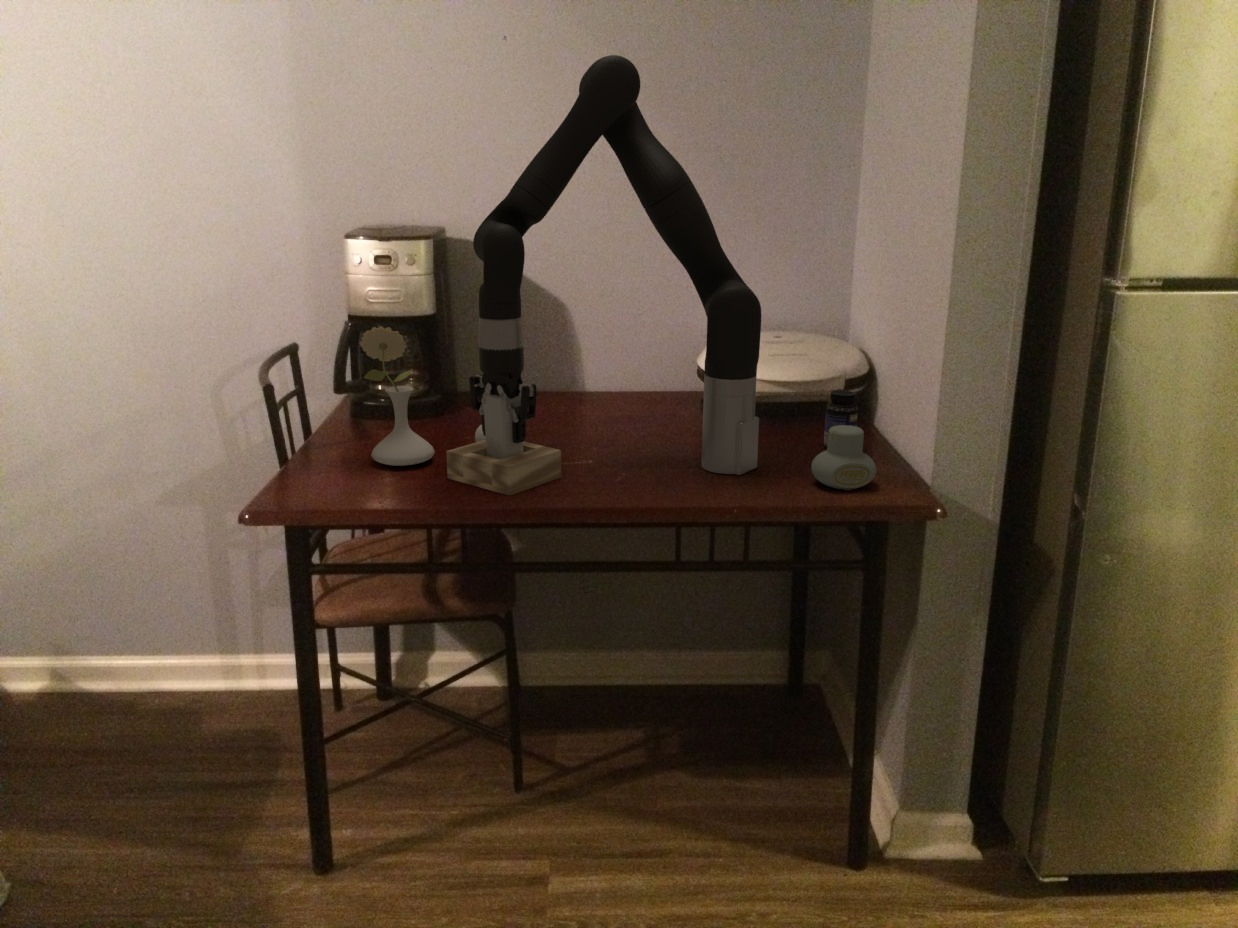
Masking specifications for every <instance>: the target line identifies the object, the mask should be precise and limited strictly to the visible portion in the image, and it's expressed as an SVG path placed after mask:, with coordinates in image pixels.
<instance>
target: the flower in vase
mask: <svg viewBox="0 0 1238 928" xmlns="http://www.w3.org/2000/svg"><path fill="white" fill-rule="evenodd" d="M362 335H363V336H362V337H361V341H359V345H360V347H361V348H362V351H363V352H365V355H366V356H368V357H369V358H371V359H373V360H375V359H378V361H380V362H382V370H383V371H380V370H378V369H371V370H369V371H368V372H367V373H366V374H365V375H364V377H363V379H365V380H371V381H375V382H381V381H383V380H384V378H385V376H386V378H387V379H388V380H389V382H390V383H391V384H392V386H389V387H387V388H385V392H386V393H387V394H388V396H389V398H390V399H391V403H392V405H393V411H394V412H393V413H394V426H393V429H392V431H391V432H390V433H389V434H387V436H386V437H384V438H383V439H382V440H381V441H380V442H378V443H377V444H376V446H374V448H373V449H372V453H371V457H372V459H373V460H374V461H375V462H377V463H380V464H383V465H385V466H387V465H388V466H391V467H392V466H395V467H397V466H398V467H399V466H401V467H402V466H403V467H404V466H412V465H418V464H422V463H424V462H426V461H429V460H430V459H432V458H433V456H434V455H435V453H436V452H435V449H434V447H433V446H432V445H431V444H430V443H429V442H428V440H426V439H424V438H423V437H421V436H420V435H419V434H417V433H416V432H415V431H413V430H412V429H411V427H410V424H409V420H408V404H409V399H410V396H411V394H412V392H413V391H414V387H413V386H409V385H396V384H395V383H397V382H401V381H404V380H405V379H407V378H408V377H409V376H410V375H411V374H412V372H413V368H412V369H410V370H408V371H405V372H403V373H400V374H399V375H397V377H395V379H394V380H392V379H391V377H390V376H389V375H388V373H387V371H386V368H385V362H391V360H393V361H395V360H397V358H402V357H403V356H404V353H405V352H406V350H405V349H406V348H408V347H407V342H406V341H405V339H403V338H404V336H403V335H402V334H400V331H398V330H397V331H394V330H392V328H391V327H389V326H388V327H386V328H384V326H378V327H374V326H373V327H372V328H371V329H370V330H366V331H365V332H363V334H362Z"/></svg>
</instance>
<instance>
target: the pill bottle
mask: <svg viewBox="0 0 1238 928" xmlns="http://www.w3.org/2000/svg"><path fill="white" fill-rule="evenodd" d="M856 394H857V393H856V392H854V391H851V390H847V389H846V390H844V389H842V390H841V389H839V390H832V391H830V401H831V402H830V403H828V404H827V405H826V407H825V417H824V418H825V419H824V430H823V431H824V433H823V447H824V448H826V449H827V447H828V434H829V429H830V428H831V427H833V426H838V425H849V426H855V427H858V418H859V416H858V415H859V414H858V413H859V408H858V406H857V405H856V404H855V403H854V402H855V400H856V397H857V396H856Z"/></svg>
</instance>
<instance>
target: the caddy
mask: <svg viewBox="0 0 1238 928" xmlns="http://www.w3.org/2000/svg"><path fill="white" fill-rule="evenodd" d="M446 467H447V468H446V472H447V473H446V474H447V479H448V480H452V481H456V482H459V483H463V484H467V485H469V486H474V487H478V488H481V489H485V490H489V491H491V492H494V493H499V494H502V495H506V496H514V495H516V494H518V493H521V492H524V491H527V490H530V489H532V488H535V487H539V486H540V485H543V484H546V483H550V482H551V481H552V482H553V481H554V480H557V479H561V478H562V450H561V449H557V448H553V447H550V446H545V445H540V444H536V443H532V442H528V441H525V440H524V441H523V453H520V454H517V455H514V456H511V457H508V458H505V459H501V460H498V459H494V458H490V457H487V449H486V440H483V441H479V442H476V441H475V442H472V443H470V444H465V445H463V446H459V447H455V448H453V449H448V450H446Z"/></svg>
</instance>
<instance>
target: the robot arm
mask: <svg viewBox="0 0 1238 928" xmlns="http://www.w3.org/2000/svg"><path fill="white" fill-rule="evenodd" d="M640 91H641V78H640V74H639V71H638V69H637V67H636V66H635V64H634V63H633V62H632V61H631V60H629V59H628V58H626V57H625V56H621V55H616V54H612V55H611V54H609V55H607V56H603V57H600V58H598V59H597V60H595V61H594V62H593V63H592V64H591V65H590V66H589V68H587V70H586V71H585V72H584V74H583V75H582V77H581V80H580V81H579V86H578V95H577V98H576V100H575V102H574V103H573V105H572V107H571V108H570V111H569V112H568V114H567V115H566V116H565V117H564V119H563V120H562V122H561V123H560V125H559V126H558V127H557V129H556V130H555V132H554V133H553V134H552V135H551V136H550V138H549V139H548V140H547V141H546V142H545V144H544V145H543V146H542V147H541V149H540V150H539V151H538V153H536V155H535V156H534V157H533V158H532V159H531V161H530V162H529V163H528V165H527V166H526V167H525V169H524V170H523V172H522V173H521V175H519V177H518V179H517V180H516V181H515V182H514V185H512V187H511V188H510V190H509V192H508V193H507V195H506V196H505V197H504V198H503V200H501V201H500V202H499V203H498V204H497V205H496V206H495V207H494V208H493V210H491V212H490V213H489V214H488V215H487V216H486V218H484V220H483V221H482V222H481V223H480V225H479V227H478V228H477V229H476V231H475V234H474V237H473V239H472V241H473V242H472V246H473V250H474V251H473V252H474V253H475V254H476V256H477V258H478V259H479V260H481V261H482V262H483V277H482V279H483V280H482V283H481V285H480V286H479V290H478V314H479V315H478V316H479V319H478V330H477V331H478V332H477V335H478V358H479V359H478V360H479V361H478V362H479V364H478V366H479V370H480V372H481V373H480V374H476V375H472V376H470V377H469V378H468V381H469V391H470V401H471V402H470V403H471V408H472V410H473V411H477V412H479V415H480V416H481V424H482V431H483V435H484V436H486V435H485V419H484V405H486V396H488V395H498V396H501V397H503V398H506V403H507V404H506V409H507V410H508V411H509V412H510V414H511V416H512V419H513V421H514V422H512V423H513V442H514V443H521V442H523V441H524V442H525V440H526V437H527V431H526V430H527V424H526V423H527V420H530V419H534V418H535V417H536V408H537V385H536V384H535V383H531V384H528V383H524V382H523V379H522V373H523V371H524V369H525V364H524V363H525V362H524V361H525V359H524V358H525V355H524V351H525V350H524V328H523V321H522V299H521V298H522V296H521V288H522V287H521V286H522V283H523V277H524V275H523V274H524V269H525V268H524V267H525V256H526V255H525V251H526V250H525V244H524V242H525V241H524V240H523V237H524V236H525V234H526V233H528V232H529V230H530V229H531V227H532V226H535V225H537V224H539V223H540V222H541V221H543V219H544V218H545V217H546V215H547V214H548V213H549V212H550V210H551V209H552V207H553V206H554V205H555V204H556V202H557V200H558V199H559V198H560V196H561V195H562V193H563V192H564V190H565V189H566V188H567V186H568V184H569V183H570V181H571V179H572V178H573V177H574V176H575V173H576V172H577V170H578V169H579V167H580V166H581V165H582V163H583V161H584V160H585V158H586V157H587V155H588V154H589V153H590V151H591V150H592V148H593V147H594V146H595V145H596V144H597V142H598V141H599V140H600V138H601V137H602V136H603V137H604V139H605V140H606V142H607V144H608V145H609V147H610V148H611V149H612V151H613V153H614V155H615V156H616V157H617V159H618V161H619V163H620V166H621V167H622V170H623V171H624V174H625V176H626V178H627V180H628V181H629V183H630V185H631V187H632V189H633V191H634V192H635V194H636V196H637V198H638V200H639V202H640V204H641V206H642V208H643V209H644V211H645V213H646V215H647V217H648V219H649V220H650V221H651V223H652V225H653V226H654V229H655V230H656V231H657V232H656V233H658V235H659V236H660V238H661V239H662V240H663V242H664V244H666V246H667V248H668V249H669V250H670V251H671V252H672V254H673V255H674V256H675V258H676V259H677V260H678V261H679V263H680V264H681V265H682V266H683V268H684V270H685V271H686V273H687V274H688V276H689V278H690V280H691V282H692V284H693V286H694V288H695V291H696V292H697V295H698V297H699V299H700V301H701V304H702V306H703V309H704V312H705V315H706V318H707V319H706V323H707V324H706V344H705V345H706V349H705V357H704V375H703V376H704V378H703V379H704V381H703V406H702V407H703V410H702V411H703V412H702V439H701V440H702V441H701V442H702V443H701V468H702V469H703V470H705V471H708V472H711V473H716V474H721V475H723V474H724V475H738V476H741V475H743V474H745V473H747V472H750V471H752V470H755V469H756V468H757V467H758V457H759V454H758V453H759V428H760V418H759V416H756V398H757V397H756V396H757V394H756V393H757V374H758V372H757V371H758V364H759V360H760V348H761V332H762V331H761V330H762V305H761V302H760V300H759V298H758V297H757V295H756V294H755V293H754V291H753V290H752V289H751V288H750V287H749V286H748V284H747V283H746V282H745V281H744V280H743V278H742V277H741V276H740V274H739V272H738V271H737V269H736V268H735V266H734V265H733V264H732V262H731V261H730V259H729V258H728V255H727V254H726V253H725V251H724V249H723V248H722V245H721V242H720V240H719V237H718V235H717V232H716V229H715V227H714V223H713V221H712V219H711V216H710V214H709V212H708V209H707V207H706V205H705V203H704V202H703V199H702V198H701V196H700V194H699V192H698V190H697V188H696V187H695V185H694V183H693V181H692V180H691V178H690V176H689V175H688V173H687V172H686V169H684V167H683V165H681V164H680V162H679V161H678V159H676V158H675V157H674V156H673V155H672V153H670V151H669V150H668V149H667V148H666V147H665V146H664V145H663V144H662V143H661V142H660V141H659V139H658V138H657V137H656V136H655V135H654V133H653V131H652V130H651V128H650V127H649V125H648V123H647V121H646V119H645V118H644V116H643V113H642V112H641V109H640V107H639V105H638V103H637V101H638V98H639V95H640ZM483 394H484V395H483ZM517 396H520V397H521V401H520V402H519V403H515V404H513V403H511V401H510V399H513V398H515V397H517ZM483 404H484V405H483ZM516 408H519V415H518V413H517V410H516Z"/></svg>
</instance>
